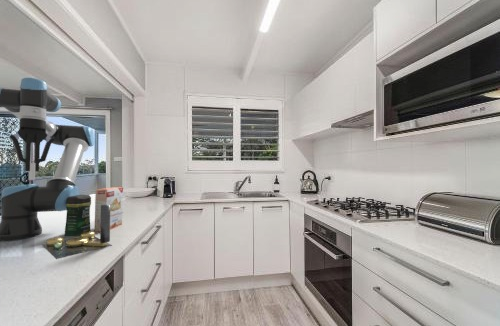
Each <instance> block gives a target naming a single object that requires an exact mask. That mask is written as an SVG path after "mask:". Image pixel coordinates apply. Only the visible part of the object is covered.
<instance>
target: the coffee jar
mask: <svg viewBox="0 0 500 326" xmlns="http://www.w3.org/2000/svg"><path fill="white" fill-rule="evenodd" d="M91 205H92V197H91V196H90V195H89V194H79V195H75V196H70V197H68V198H67V199H66V208H67V210H66V217H65V221H66V222H65V227H64V236H63V237H78V236H80V237H81V233H83V232H89V231H91V214H90V212H91V211H90V209H91Z"/></svg>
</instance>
